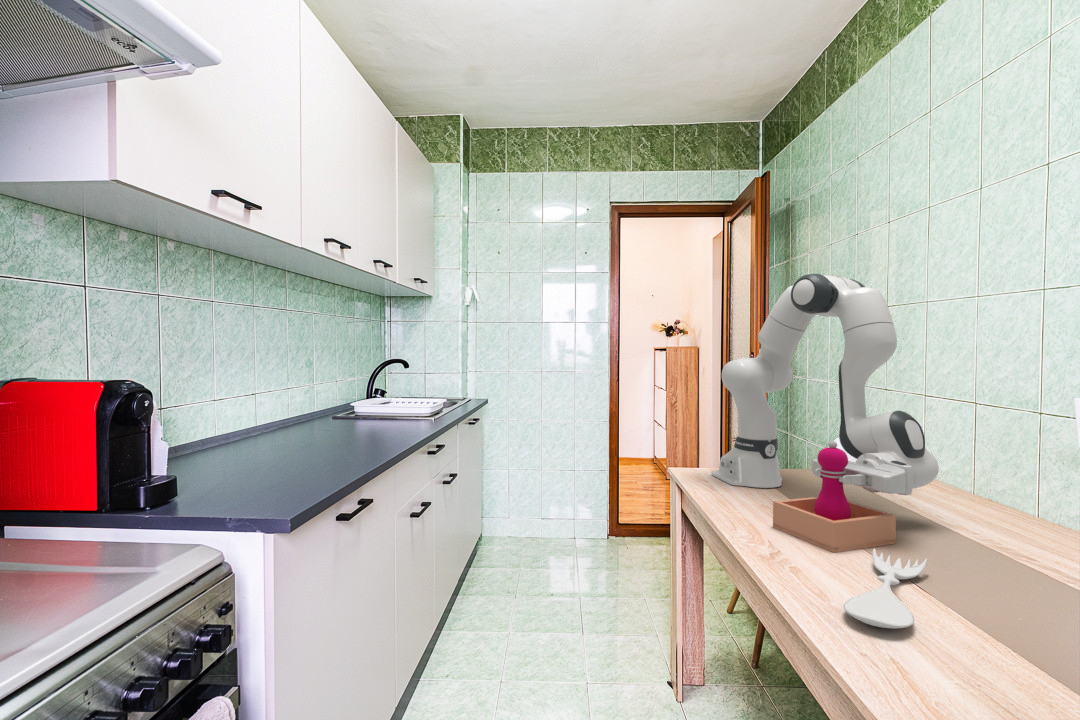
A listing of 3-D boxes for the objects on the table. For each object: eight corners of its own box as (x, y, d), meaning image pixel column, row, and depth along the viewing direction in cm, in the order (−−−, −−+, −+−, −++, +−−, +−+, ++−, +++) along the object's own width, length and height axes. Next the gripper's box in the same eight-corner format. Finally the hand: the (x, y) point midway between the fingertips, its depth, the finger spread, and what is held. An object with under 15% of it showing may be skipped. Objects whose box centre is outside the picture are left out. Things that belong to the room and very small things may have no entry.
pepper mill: (841, 525, 124) (842, 438, 124) (857, 536, 117) (857, 443, 117) (808, 524, 125) (809, 437, 124) (822, 535, 118) (822, 443, 117)
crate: (772, 527, 126) (773, 501, 126) (829, 520, 132) (829, 495, 132) (833, 552, 110) (834, 523, 110) (895, 543, 116) (896, 515, 115)
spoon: (929, 575, 100) (929, 556, 100) (910, 648, 75) (910, 623, 75) (872, 563, 105) (872, 545, 105) (836, 627, 81) (837, 603, 81)
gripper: (838, 450, 135) (793, 454, 130) (919, 467, 115) (870, 471, 111) (837, 476, 135) (793, 480, 130) (918, 497, 115) (870, 502, 111)
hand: (829, 476), depth 120 cm, fingers closed on pepper mill, 5 cm apart
